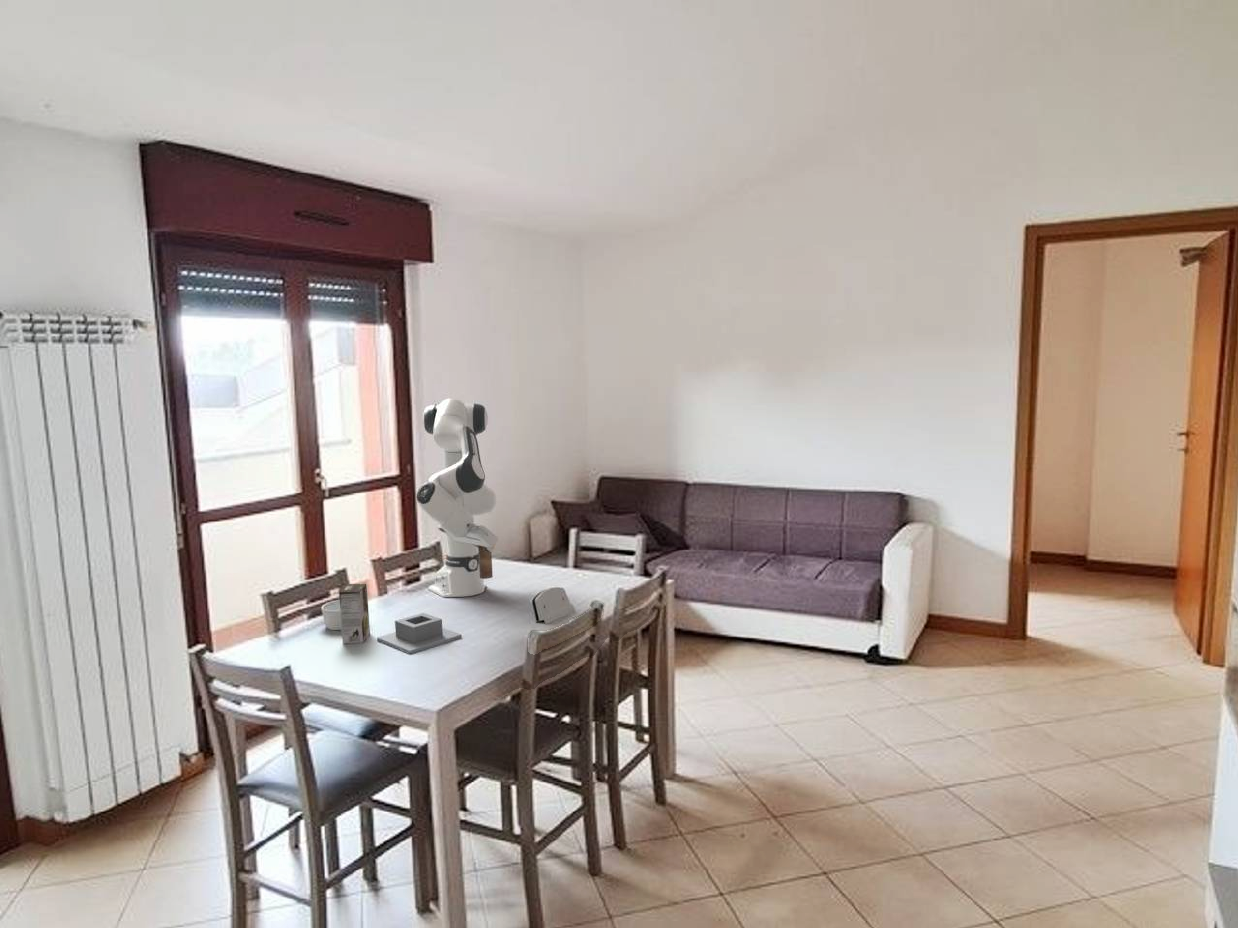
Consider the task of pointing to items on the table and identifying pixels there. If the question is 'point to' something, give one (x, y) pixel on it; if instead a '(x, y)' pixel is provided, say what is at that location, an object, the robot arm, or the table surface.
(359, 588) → the coffee box
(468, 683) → the table surface
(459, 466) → the robot arm
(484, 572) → the pin
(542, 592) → the hinge
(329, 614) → the ramekin
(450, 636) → the socket block
